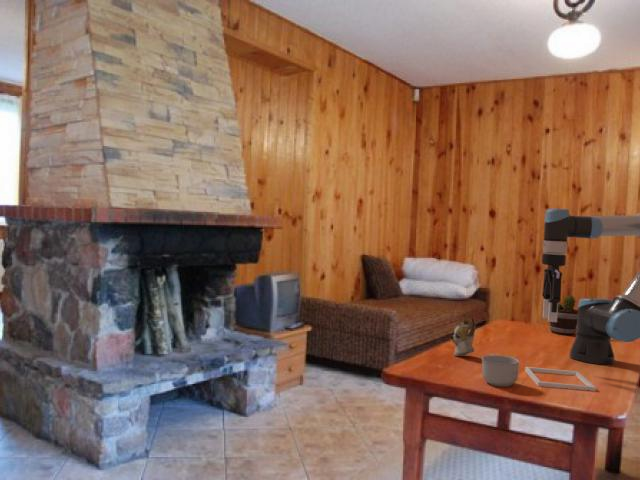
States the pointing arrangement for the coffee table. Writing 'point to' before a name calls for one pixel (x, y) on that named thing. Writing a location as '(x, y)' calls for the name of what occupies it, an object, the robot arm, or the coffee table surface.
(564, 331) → the flowerpot
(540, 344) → the coffee table surface
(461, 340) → the ceramic sculpture
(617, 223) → the robot arm
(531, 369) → the grey square frame
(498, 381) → the teacup
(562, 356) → the coffee table surface
